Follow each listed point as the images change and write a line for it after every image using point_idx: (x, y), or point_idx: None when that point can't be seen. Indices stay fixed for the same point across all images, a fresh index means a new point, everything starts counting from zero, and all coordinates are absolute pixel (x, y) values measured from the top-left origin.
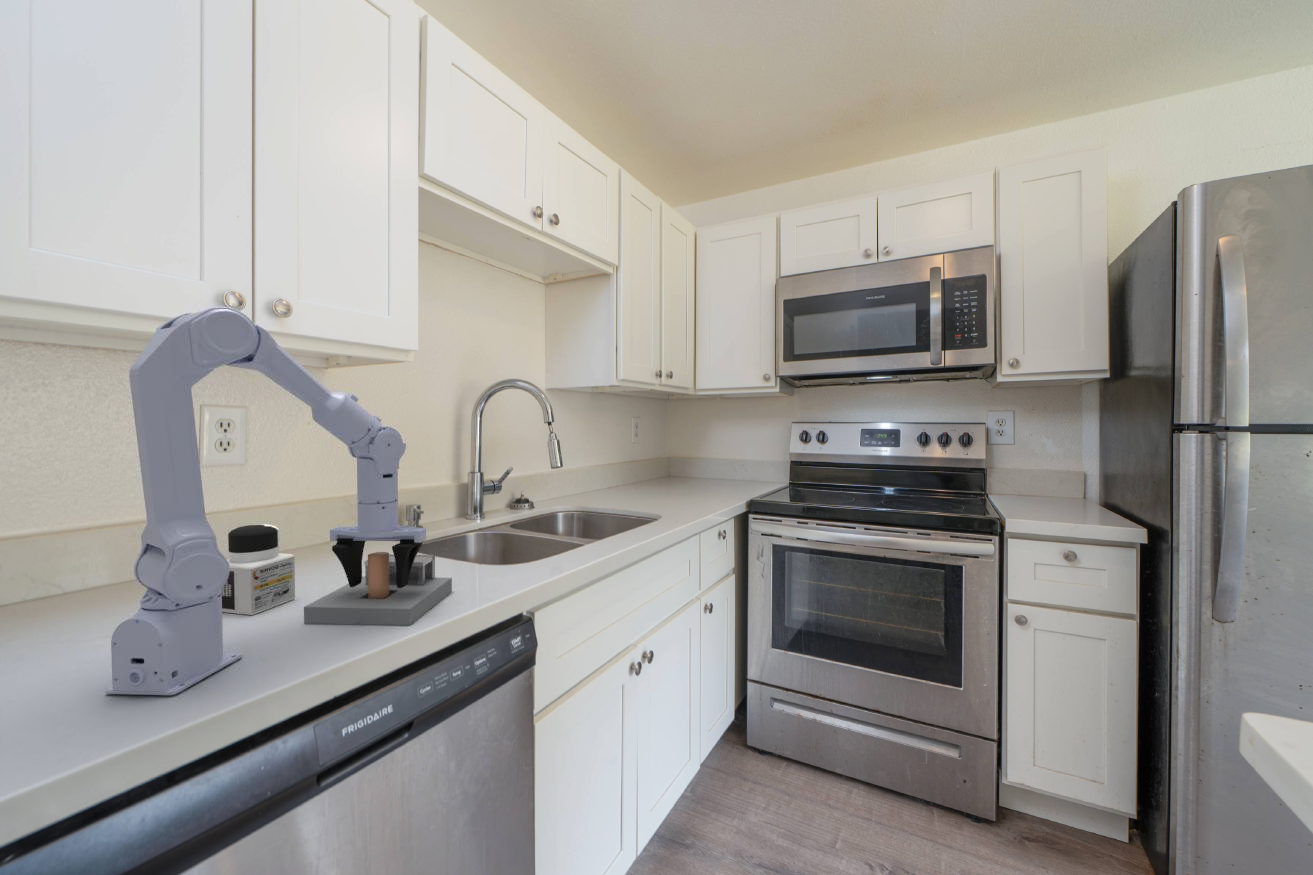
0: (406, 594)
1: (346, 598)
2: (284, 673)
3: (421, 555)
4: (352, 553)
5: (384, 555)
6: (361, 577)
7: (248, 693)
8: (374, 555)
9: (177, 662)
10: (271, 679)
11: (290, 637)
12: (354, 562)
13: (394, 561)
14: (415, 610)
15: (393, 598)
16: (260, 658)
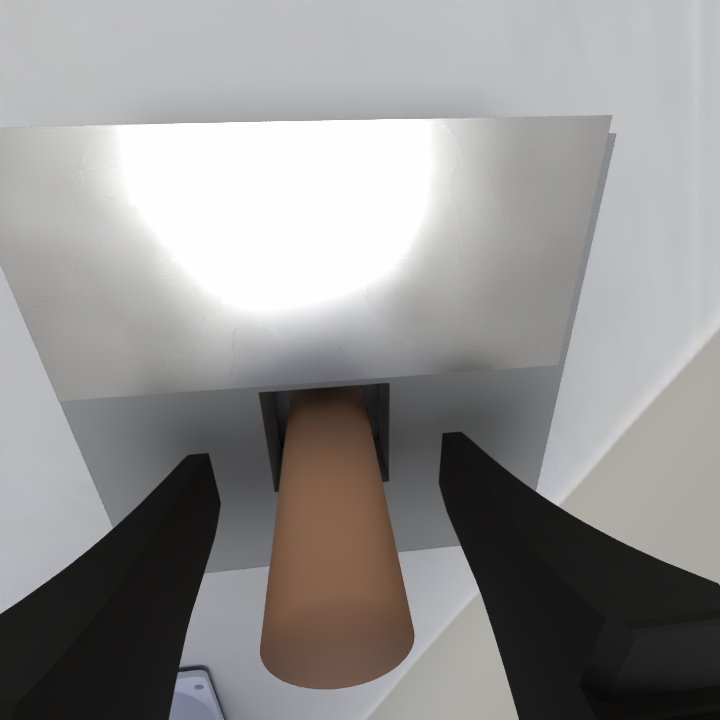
0: (453, 426)
1: (222, 497)
2: None
3: (474, 141)
4: (147, 713)
5: (404, 656)
6: (198, 468)
7: (342, 717)
8: (327, 666)
9: None
10: (343, 693)
11: (212, 591)
12: (167, 611)
13: (322, 372)
14: None
15: (420, 471)
16: (246, 659)
